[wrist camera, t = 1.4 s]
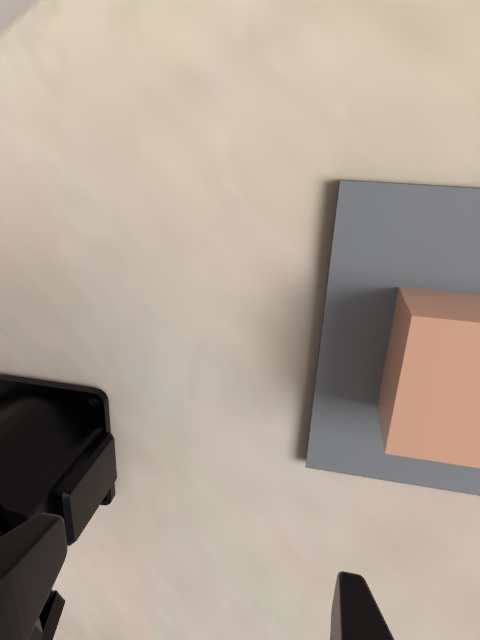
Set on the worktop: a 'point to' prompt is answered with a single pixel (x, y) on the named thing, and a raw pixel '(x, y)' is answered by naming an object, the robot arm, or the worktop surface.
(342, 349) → the slate mat
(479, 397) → the salmon brown block
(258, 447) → the worktop surface
